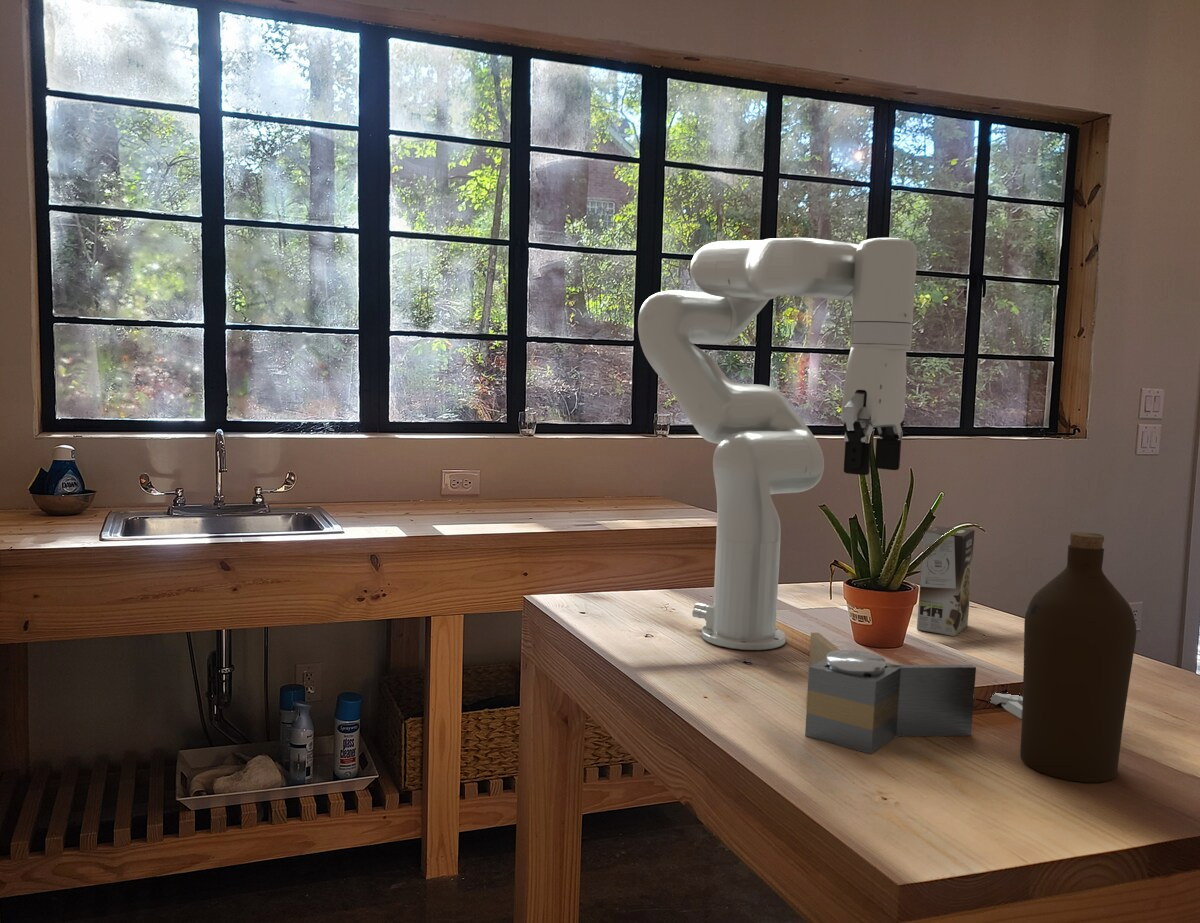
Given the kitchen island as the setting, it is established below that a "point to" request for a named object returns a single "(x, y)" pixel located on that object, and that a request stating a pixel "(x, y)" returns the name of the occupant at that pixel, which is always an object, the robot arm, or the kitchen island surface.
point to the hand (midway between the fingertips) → (872, 471)
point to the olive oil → (1076, 669)
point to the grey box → (886, 701)
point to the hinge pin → (855, 662)
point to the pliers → (1009, 703)
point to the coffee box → (946, 582)
